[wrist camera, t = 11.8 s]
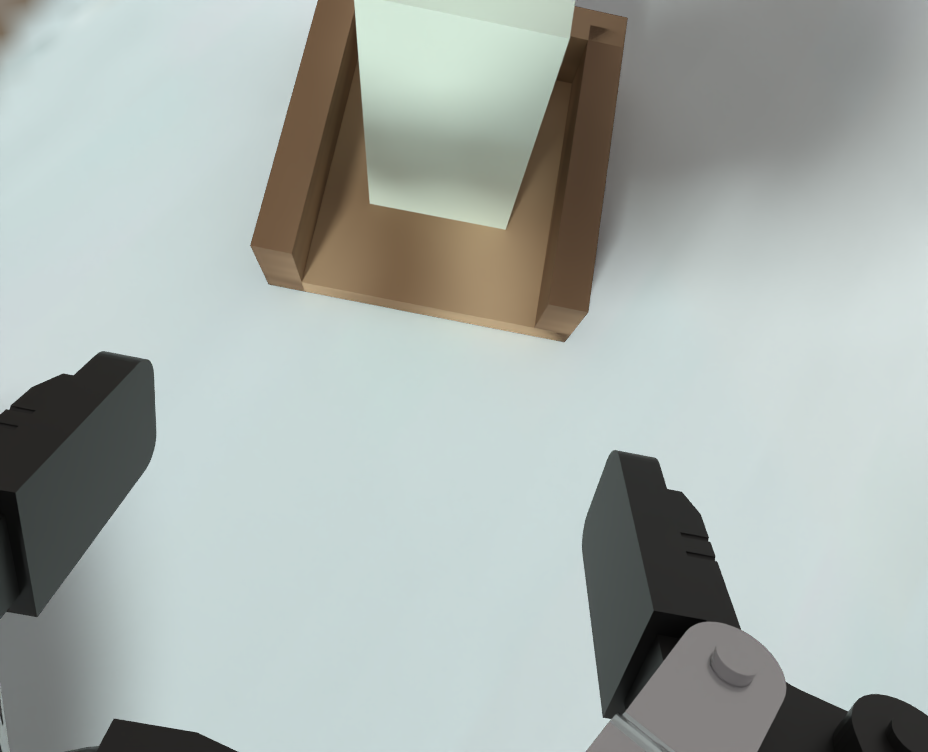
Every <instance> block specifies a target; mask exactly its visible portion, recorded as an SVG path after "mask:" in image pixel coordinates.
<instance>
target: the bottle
mask: <svg viewBox="0 0 928 752" xmlns="http://www.w3.org/2000/svg"><path fill="white" fill-rule="evenodd" d="M354 5H355V18H356V31H357V44H358V57H359V70H360V83H361V96H362V109H363V122H364V135H365V148H366V161H367V174H368V187H369V200H370V204H374V205H380V206H385V207H390V208H395V209H400V210H406V211H411V212H416V213H421V214H426V215H432V216H437V217H442V218H447V219H452V220H458V221H463V222H468V223H473V224H478V225H484V226H489V227H494V228H499V229H504V230H506V227H507V224H508V221H509V218H510V215H511V212H512V209H513V206H514V203H515V200H516V197H517V194H518V191H519V188H520V185H521V182H522V179H523V176H524V173H525V170H526V167H527V164H528V161H529V158H530V155H531V153H532V150H533V147H534V144H535V141H536V138H537V135H538V132H539V129H540V126H541V123H542V120H543V117H544V114H545V111H546V108H547V105H548V102H549V99H550V96H551V93H552V90H553V87H554V84H555V81H556V78H557V75H558V72H559V69H560V66H561V63H562V60H563V57H564V54H565V51H566V48H567V45H568V42H569V39H570V33H571V26H572V19H573V13H574V6H575V0H354Z"/></svg>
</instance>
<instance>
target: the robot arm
mask: <svg viewBox="0 0 928 752" xmlns="http://www.w3.org/2000/svg"><path fill="white" fill-rule="evenodd" d="M155 442H156V415H155V390H154V370H153V366H152V363H151V362H150V361H149V360H147V359H142V358H137V357H131V356H126V355H121V354H116V353H110V352H105V351H102V352H99V353H98V354H97V355H95V356H94V357H93V358H92V359H91V360H90V361H89V362H88V363H87V364H86V365H84V366H83V367H82V368H81V369H80V370H79V371H78V372H77V373H76V374H75V375H74V376H73V375H68V374H61V375H59V376H56V377H54V378H52V379H50V380H47V381H45V382H43V383H40V384H38V385H36V386H34V387H32V388H30V389H29V390H28V391H27V392H26V393H25V394H24V395H22V396H21V397H20V398H19V399H18V400H17V401H15V402H14V403H13V404H12V405H11V407H10V410H7V409H6V410H5V411H4V412H3V413H2V414H0V619H1V618H2V616H3V615H4V614H5V612H11V613H17V614H23V615H29V616H34V617H38V615H39V614H40V613H41V611H42V610H43V609H44V607H45V606H46V604H47V603H48V602H49V600H50V599H51V598H52V596H53V595H54V594H55V592H56V591H57V589H58V588H59V587H60V585H61V584H62V583H63V581H64V580H65V579H66V577H67V576H68V575H69V573H70V572H71V570H72V569H73V568H74V566H75V565H76V564H77V562H78V561H79V560H80V558H81V557H82V555H83V554H84V553H85V551H86V550H87V549H88V547H89V546H90V545H91V543H92V542H93V541H94V539H95V538H96V536H97V535H98V534H99V532H100V531H101V530H102V528H103V527H104V526H105V524H106V523H107V521H108V520H109V519H110V517H111V516H112V515H113V513H114V512H115V511H116V509H117V508H118V507H119V505H120V504H121V502H122V501H123V500H124V498H125V497H126V496H127V494H128V493H129V492H130V490H131V489H132V487H133V486H134V485H135V483H136V482H137V481H138V479H139V478H140V477H141V475H142V474H143V473H144V471H145V470H146V468H147V466H148V464H149V462H150V460H151V458H152V455H153V451H154V447H155ZM708 538H709V537H708V534H707V531H706V528H705V525H704V523H703V520H702V517H701V514H700V513H699V512H698V511H697V509H696V508H695V507H694V506H693V505H692V503H691V502H690V501H689V500H688V499H687V497H686V496H685V495H684V494H683V493H682V492H680V491H674V490H669V489H667V487H666V484H665V481H664V477H663V474H662V471H661V468H660V464H659V462H658V460H657V459H656V458H654V457H648V456H643V455H638V454H633V453H627V452H622V451H617V450H614V451H612V452H611V454H610V455H609V457H608V459H607V462H606V465H605V467H604V470H603V473H602V475H601V478H600V481H599V484H598V486H597V489H596V492H595V494H594V497H593V500H592V503H591V505H590V508H589V511H588V513H587V517H586V520H585V524H584V530H583V538H582V553H583V561H584V569H585V577H586V585H587V593H588V601H589V609H590V617H591V625H592V633H593V642H594V650H595V658H596V666H597V674H598V682H599V690H600V698H601V706H602V714H603V718H609V719H611V720H610V721H609V723H608V724H607V725H606V726H605V728H604V729H603V730H602V732H601V733H600V734H599V735H598V737H597V738H596V739H595V741H594V742H593V743H592V744H591V746H590V747H589V748H588V750H587V751H586V752H928V716H927V715H926V714H924V713H923V712H921V711H920V710H918V709H917V708H915V707H913V706H912V705H910V704H908V703H906V702H904V701H901V700H899V699H897V698H893V697H890V696H886V695H880V694H870V695H866V696H863V697H861V698H859V699H858V700H857V701H856V702H855V704H854V705H853V706H852V707H851V709H850V710H849V711H845V710H843V709H841V708H839V707H837V706H834V705H832V704H830V703H828V702H826V701H823V700H821V699H819V698H817V697H815V696H812V695H810V694H808V693H806V692H803V691H801V690H799V689H797V688H795V687H793V686H791V685H790V684H788V683H787V682H786V681H785V677H784V674H783V672H782V670H781V668H780V666H779V664H778V662H777V661H776V659H775V658H774V657H773V655H772V654H771V653H770V652H769V651H768V650H767V649H766V648H765V647H764V646H763V645H762V644H761V643H760V642H759V641H757V640H756V639H755V638H753V637H752V636H751V635H749V634H747V633H746V632H744V631H742V630H741V628H740V625H739V622H738V619H737V617H736V614H735V611H734V608H733V605H732V602H731V599H730V597H729V594H728V591H727V588H726V585H725V582H724V580H723V577H722V574H721V571H720V568H719V565H718V562H717V561H715V554H714V551H713V548H712V545H711V543H710V542H708ZM0 752H10V749H9V743H8V736H7V729H6V721H5V714H4V707H3V699H2V692H1V684H0ZM66 752H237V751H235V750H233V749H231V748H229V747H227V746H225V745H222V744H220V743H218V742H216V741H214V740H212V739H210V738H207V737H205V736H203V735H201V734H199V733H197V732H191V731H185V730H179V729H173V728H167V727H161V726H155V725H149V724H143V723H137V722H131V721H125V720H119V719H113V721H112V723H111V725H110V727H109V729H108V731H107V732H106V734H105V736H104V738H103V740H102V742H101V744H100V746H95V747H86V748H81V749H76V750H71V751H66Z"/></svg>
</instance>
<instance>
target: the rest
mask: <svg viewBox="0 0 928 752" xmlns="http://www.w3.org/2000/svg"><path fill="white" fill-rule="evenodd" d="M627 19H628V18H626V17H622V16H617V15H613V14H608V13H603V12H599V11H594V10H590V9H585V8H581V7H576V6H574V13H573V19H572V26H571V33H570V39H569V42H568V45H567V48H566V51H565V54H564V57H563V60H562V63H561V66H560V69H559V72H558V75H557V78H556V81H555V84H554V87H553V90H552V93H551V96H550V99H549V102H548V105H547V108H546V111H545V114H544V117H543V120H542V123H541V126H540V129H539V132H538V135H537V138H536V141H535V144H534V147H533V150H532V153H531V155H530V158H529V161H528V164H527V167H526V170H525V173H524V176H523V179H522V182H521V185H520V188H519V191H518V194H517V197H516V200H515V203H514V206H513V209H512V212H511V215H510V218H509V221H508V224H507V227H506V230H504V229H499V228H494V227H489V226H484V225H478V224H473V223H468V222H463V221H458V220H452V219H447V218H442V217H437V216H432V215H426V214H421V213H416V212H411V211H406V210H400V209H395V208H390V207H385V206H380V205H374V204H370V200H369V187H368V174H367V161H366V148H365V135H364V122H363V109H362V96H361V83H360V70H359V57H358V44H357V31H356V18H355V5H354V0H318V2H317V6H316V9H315V13H314V16H313V20H312V24H311V27H310V31H309V35H308V38H307V42H306V45H305V49H304V53H303V56H302V60H301V64H300V67H299V71H298V74H297V78H296V82H295V85H294V89H293V93H292V96H291V100H290V104H289V107H288V111H287V114H286V118H285V122H284V125H283V129H282V133H281V136H280V140H279V143H278V147H277V151H276V154H275V158H274V162H273V165H272V169H271V172H270V176H269V180H268V183H267V187H266V191H265V194H264V198H263V201H262V205H261V209H260V212H259V216H258V220H257V223H256V227H255V230H254V234H253V238H252V241H251V245H250V246H251V248H252V250H253V252H254V254H255V256H256V259H257V261H258V263H259V265H260V267H261V269H262V271H263V273H264V275H265V278H266V280H267V282H268V284H270V285H275V286H280V287H285V288H290V289H295V290H300V291H305V292H311V293H316V294H321V295H326V296H331V297H336V298H341V299H346V300H351V301H357V302H362V303H367V304H372V305H377V306H382V307H387V308H392V309H398V310H403V311H408V312H413V313H418V314H423V315H428V316H433V317H439V318H444V319H449V320H454V321H459V322H464V323H469V324H474V325H480V326H485V327H490V328H495V329H500V330H505V331H510V332H515V333H521V334H526V335H531V336H536V337H541V338H546V339H551V340H556V341H561V342H565V341H566V340H567V338H568V337H569V336H570V335H571V333H572V332H573V331H574V330H575V328H576V327H577V326H578V325H579V323H580V322H581V321H582V320H583V318H584V317H585V316H586V314H587V313H588V310H589V303H590V295H591V288H592V280H593V273H594V265H595V258H596V250H597V243H598V235H599V228H600V221H601V213H602V206H603V198H604V191H605V183H606V176H607V168H608V161H609V153H610V146H611V138H612V131H613V123H614V116H615V108H616V101H617V93H618V86H619V78H620V71H621V64H622V56H623V49H624V41H625V34H626V26H627Z"/></svg>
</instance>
